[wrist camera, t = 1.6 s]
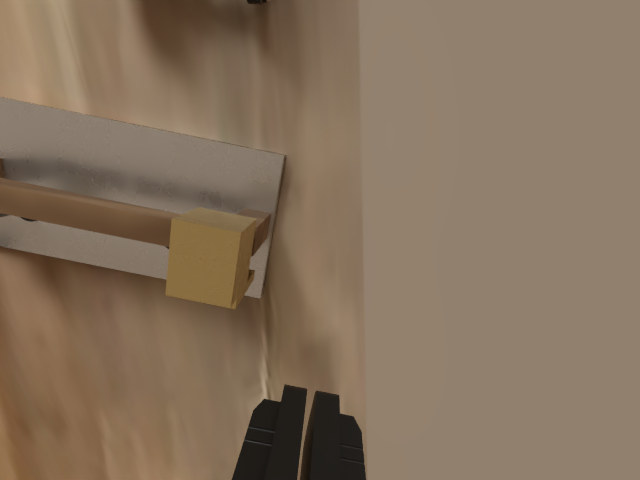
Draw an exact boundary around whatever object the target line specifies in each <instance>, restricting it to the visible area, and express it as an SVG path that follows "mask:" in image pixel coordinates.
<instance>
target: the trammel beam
mask: <svg viewBox="0 0 640 480" xmlns="http://www.w3.org/2000/svg"><path fill="white" fill-rule="evenodd" d="M10 215H13V216H18V217H23V218H28V219H33V220H37V221H42V222H47V223H52V224H57V225H62V226H67V227H72V228H77V229H82V230H87V231H92V232H97V233H102V234H107V235H112V236H117V237H122V238H127V239H132V240H137V241H142V242H146V243H151V244H156V245H161V246H166V247H169V245H170V233H171V221H172V218H175V217H177V216H179V215H182V214H177V213H172V212H167V211H162V210H157V209H153V208H148V207H143V206H138V205H133V204H128V203H123V202H118V201H113V200H108V199H103V198H98V197H93V196H88V195H84V194H79V193H74V192H69V191H64V190H59V189H54V188H49V187H44V186H39V185H34V184H29V183H24V182H19V181H15V180H10V179H5V178H4V176H3V158H0V217H5V216H10ZM236 215H240V216H245V217H250V218H255V219H257V220H256V226H255V233H254V240H253V246H252V253H251V256H252V257H253V256H254V254H255V253H256V252H257V250H258V249H259V248H260V246H261V245H262V244H263V242H264V241H265V240H266V239H267V235H268V229H269V223H270V217H271V213H268V212H264V211H259V210H254V209H249V208H245V209H243V210H242V211H240V212H239V213H237V214H236Z"/></svg>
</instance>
